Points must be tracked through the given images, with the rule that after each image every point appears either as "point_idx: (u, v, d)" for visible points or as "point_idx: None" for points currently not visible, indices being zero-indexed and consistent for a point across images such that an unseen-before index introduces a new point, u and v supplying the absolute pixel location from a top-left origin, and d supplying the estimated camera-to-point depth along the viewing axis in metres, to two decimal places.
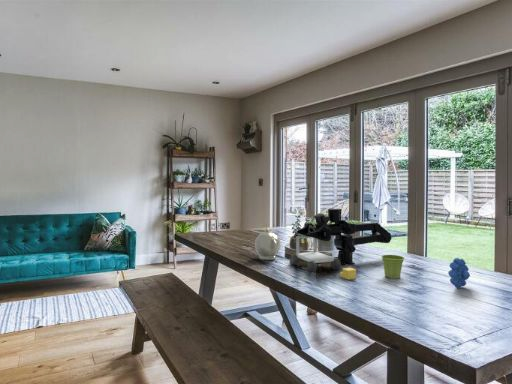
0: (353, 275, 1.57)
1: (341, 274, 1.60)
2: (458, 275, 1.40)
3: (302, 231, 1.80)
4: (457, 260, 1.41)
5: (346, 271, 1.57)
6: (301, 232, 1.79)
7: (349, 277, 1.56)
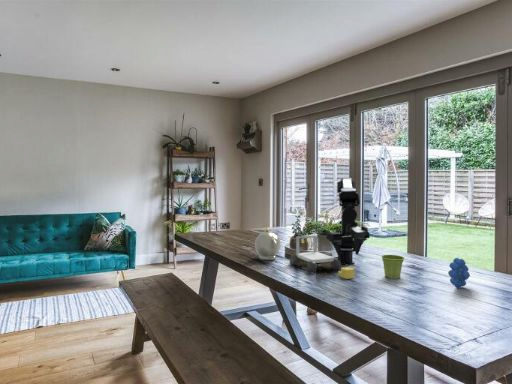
0: (351, 274, 1.58)
1: (339, 273, 1.61)
2: (458, 275, 1.40)
3: None
4: (457, 260, 1.41)
5: (344, 270, 1.58)
6: None
7: (347, 276, 1.57)
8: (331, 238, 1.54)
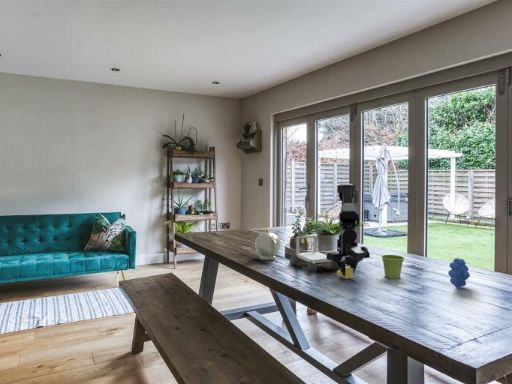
0: (350, 274, 1.59)
1: (338, 273, 1.62)
2: (458, 275, 1.40)
3: None
4: (457, 260, 1.41)
5: None
6: None
7: (346, 275, 1.58)
8: (331, 258, 1.54)
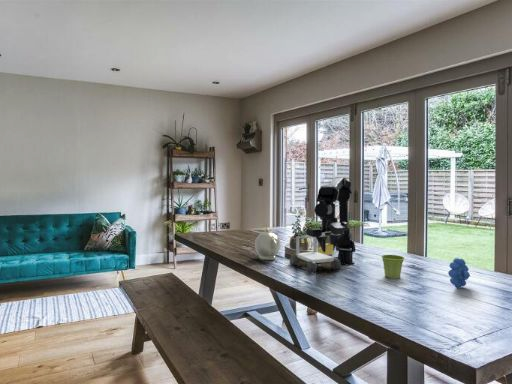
0: (330, 250, 1.58)
1: (319, 250, 1.61)
2: (458, 275, 1.40)
3: None
4: (457, 260, 1.41)
5: None
6: None
7: (326, 252, 1.57)
8: (311, 234, 1.54)
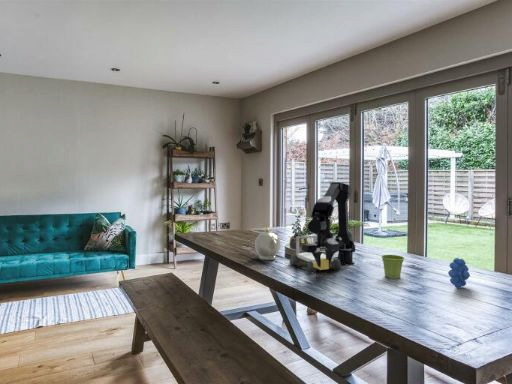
0: (325, 265, 1.59)
1: (314, 264, 1.62)
2: (458, 275, 1.40)
3: None
4: (457, 260, 1.41)
5: None
6: None
7: (321, 267, 1.58)
8: (306, 250, 1.54)
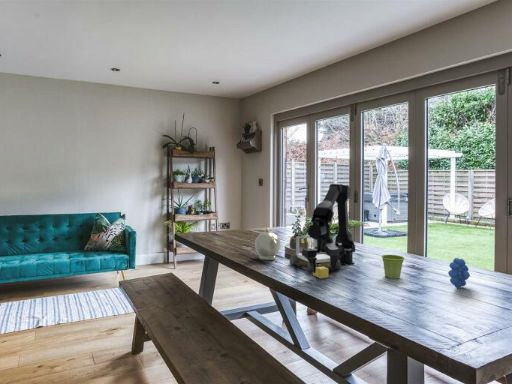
0: (325, 274, 1.59)
1: (314, 273, 1.63)
2: (458, 275, 1.40)
3: None
4: (457, 260, 1.41)
5: (318, 270, 1.59)
6: None
7: (321, 276, 1.58)
8: (306, 255, 1.54)
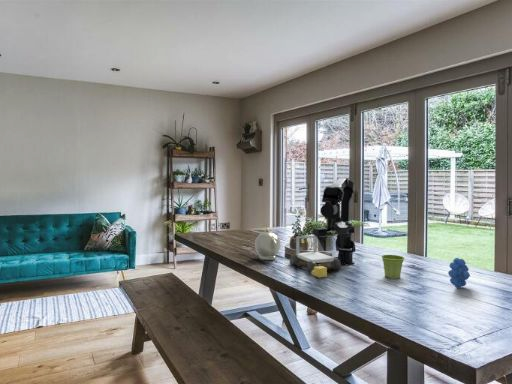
0: (323, 273, 1.60)
1: (313, 272, 1.64)
2: (458, 275, 1.40)
3: None
4: (457, 260, 1.41)
5: (317, 269, 1.60)
6: None
7: (320, 275, 1.60)
8: (316, 233, 1.59)
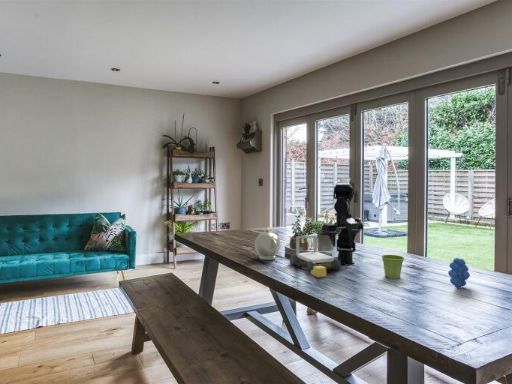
0: (323, 273, 1.61)
1: (312, 272, 1.64)
2: (458, 275, 1.40)
3: None
4: (457, 260, 1.41)
5: (316, 269, 1.61)
6: None
7: (319, 275, 1.60)
8: (326, 229, 1.62)
